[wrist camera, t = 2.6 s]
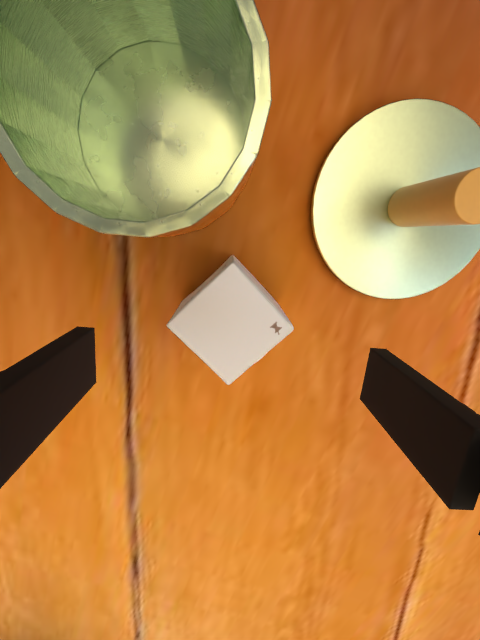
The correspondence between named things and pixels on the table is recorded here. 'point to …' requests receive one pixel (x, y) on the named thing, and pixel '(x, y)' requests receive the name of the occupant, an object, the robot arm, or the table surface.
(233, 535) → the table surface
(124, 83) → the tin
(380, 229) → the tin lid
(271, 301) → the product box
